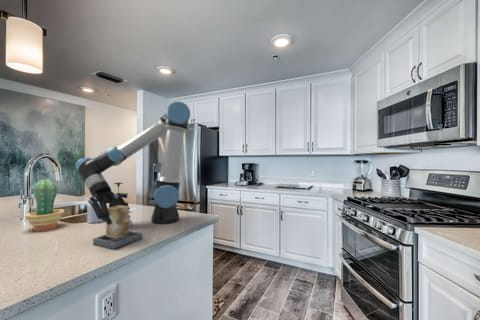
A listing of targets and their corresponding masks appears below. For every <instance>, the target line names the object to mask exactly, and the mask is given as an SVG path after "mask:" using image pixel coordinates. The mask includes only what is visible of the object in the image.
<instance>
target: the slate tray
mask: <svg viewBox="0 0 480 320" xmlns="http://www.w3.org/2000/svg"><path fill="white" fill-rule="evenodd" d="M142 239H143V233H142V232H137V231H133V230H132V231H131V230H129V234H128V235H125V236H122V237H119V238H117V239H115V238H110V237H106V234H105V235H101V236H97V237H95V238H93V241H92V242H93V244H92V245H93V246H97V247H101V248H105V249H109V250H113V251H115V250H119V249H121V248H123V247H126V246H128V245H130V244H133V243H135V242H138V241H140V240H142Z"/></svg>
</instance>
